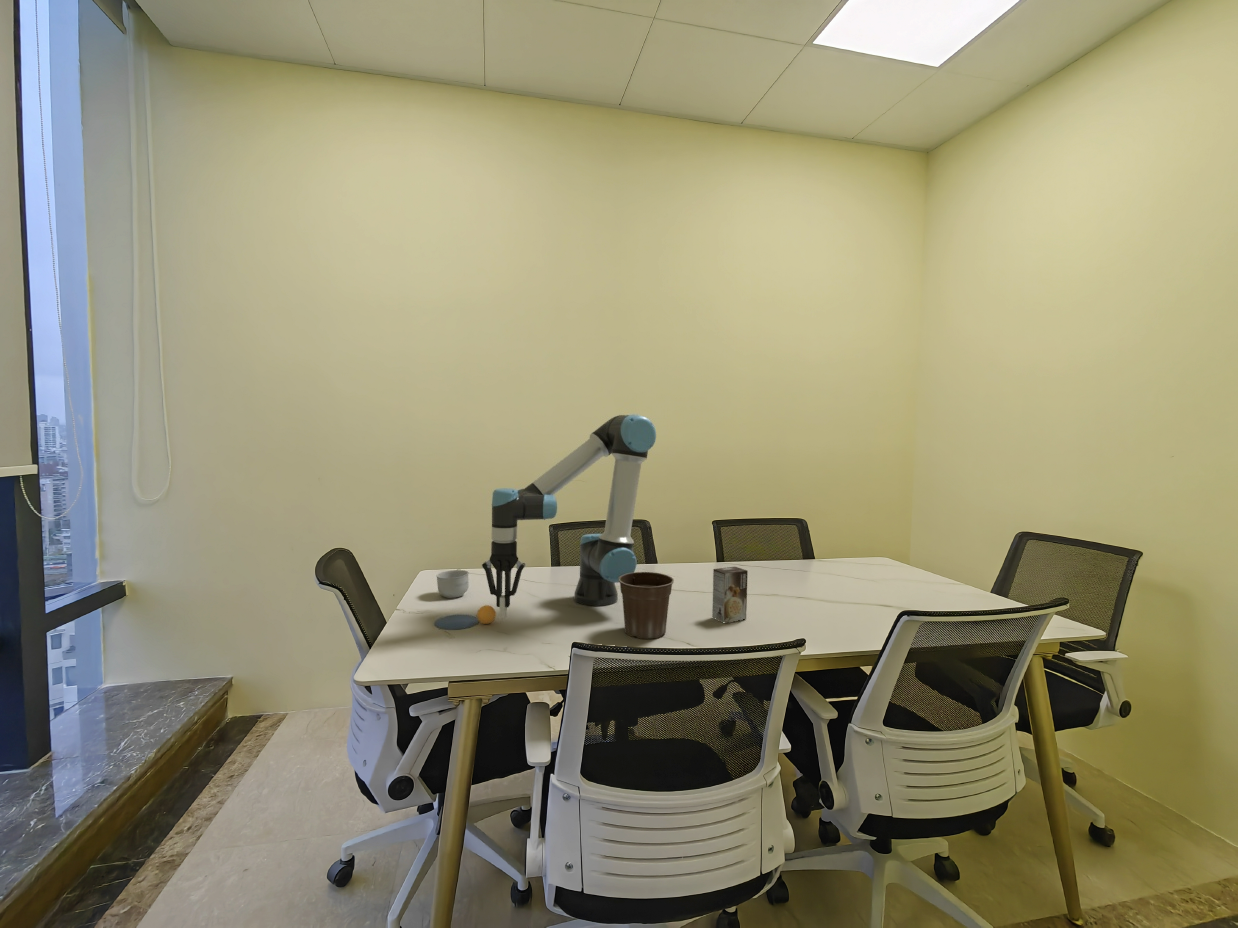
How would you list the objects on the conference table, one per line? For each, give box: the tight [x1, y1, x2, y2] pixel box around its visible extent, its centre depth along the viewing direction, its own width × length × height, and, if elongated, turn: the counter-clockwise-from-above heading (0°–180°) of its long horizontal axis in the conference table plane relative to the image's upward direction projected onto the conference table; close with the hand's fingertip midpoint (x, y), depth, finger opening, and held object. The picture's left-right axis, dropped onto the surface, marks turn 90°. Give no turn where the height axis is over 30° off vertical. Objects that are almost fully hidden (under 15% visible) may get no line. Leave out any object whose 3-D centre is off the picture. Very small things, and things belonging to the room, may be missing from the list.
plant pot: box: [618, 571, 675, 640], centre depth 170 cm, size 16×16×16 cm
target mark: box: [434, 613, 480, 631], centre depth 175 cm, size 13×13×1 cm
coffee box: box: [711, 566, 749, 623], centre depth 184 cm, size 9×6×16 cm
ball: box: [476, 604, 497, 625], centre depth 175 cm, size 6×6×6 cm
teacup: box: [436, 568, 470, 599], centre depth 203 cm, size 14×11×8 cm
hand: (503, 617), depth 174 cm, fingers closed
